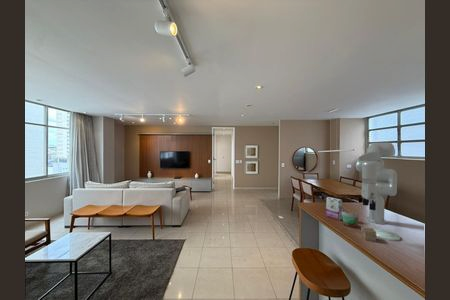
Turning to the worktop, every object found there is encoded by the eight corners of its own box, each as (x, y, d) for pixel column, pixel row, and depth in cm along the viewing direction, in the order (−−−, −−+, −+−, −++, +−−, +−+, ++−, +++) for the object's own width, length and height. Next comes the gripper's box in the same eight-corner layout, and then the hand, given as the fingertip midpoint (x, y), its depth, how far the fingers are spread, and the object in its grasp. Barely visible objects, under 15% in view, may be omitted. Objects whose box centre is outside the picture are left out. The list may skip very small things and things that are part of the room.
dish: (369, 229, 136) (369, 228, 136) (392, 232, 132) (392, 230, 132) (378, 238, 123) (378, 236, 123) (405, 242, 119) (405, 240, 119)
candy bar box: (342, 219, 156) (342, 199, 155) (338, 220, 153) (339, 200, 153) (329, 215, 165) (329, 196, 165) (325, 216, 163) (325, 197, 163)
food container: (337, 223, 148) (337, 210, 148) (342, 222, 150) (343, 209, 150) (353, 229, 136) (353, 215, 136) (359, 228, 139) (359, 214, 139)
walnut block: (361, 235, 127) (361, 227, 127) (371, 237, 125) (371, 228, 125) (364, 240, 121) (364, 230, 121) (375, 241, 120) (376, 232, 120)
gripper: (357, 178, 132) (357, 203, 132) (368, 183, 115) (368, 211, 116) (370, 179, 130) (369, 204, 130) (383, 183, 113) (382, 212, 114)
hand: (368, 207), depth 123 cm, fingers open, 9 cm apart
